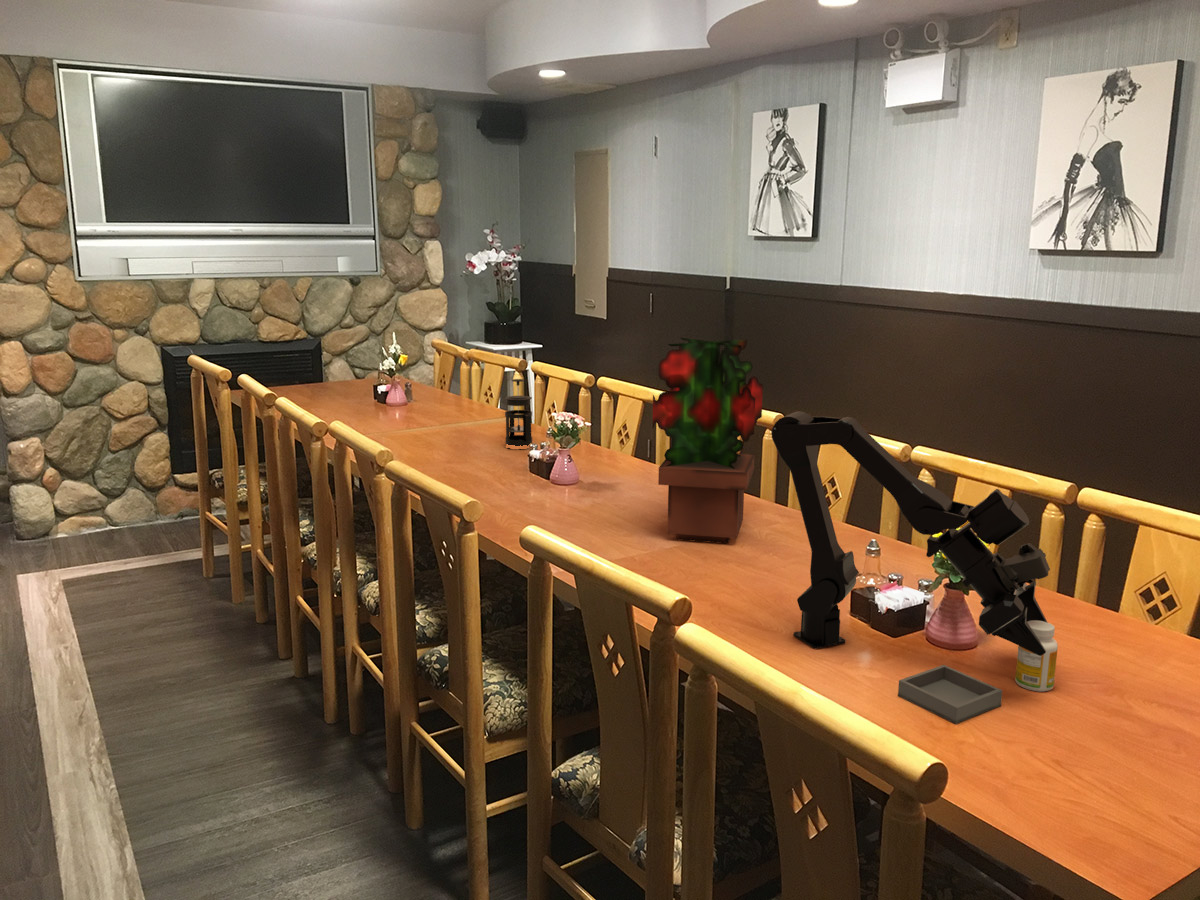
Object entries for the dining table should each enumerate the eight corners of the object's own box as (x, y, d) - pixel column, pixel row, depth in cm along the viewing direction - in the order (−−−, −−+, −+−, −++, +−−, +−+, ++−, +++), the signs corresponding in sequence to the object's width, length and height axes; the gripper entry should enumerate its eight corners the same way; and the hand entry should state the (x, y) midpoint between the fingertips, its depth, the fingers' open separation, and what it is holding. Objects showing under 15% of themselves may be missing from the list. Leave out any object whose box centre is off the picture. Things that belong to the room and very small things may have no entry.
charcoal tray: (897, 695, 140) (899, 680, 140) (942, 679, 146) (943, 664, 145) (955, 724, 132) (957, 707, 131) (1000, 706, 137) (1002, 690, 137)
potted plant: (650, 544, 212) (653, 345, 203) (667, 518, 233) (670, 336, 224) (749, 552, 207) (757, 347, 198) (757, 524, 228) (764, 338, 219)
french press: (498, 446, 318) (497, 378, 314) (522, 443, 324) (521, 376, 319) (517, 452, 309) (515, 382, 304) (541, 448, 315) (540, 380, 310)
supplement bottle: (1042, 676, 147) (1048, 617, 145) (1060, 692, 142) (1067, 631, 140) (1008, 677, 147) (1014, 618, 145) (1024, 692, 142) (1031, 632, 139)
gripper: (1010, 548, 133) (1089, 636, 130) (1025, 516, 149) (1095, 594, 146) (947, 591, 139) (1022, 676, 136) (968, 556, 155) (1035, 632, 152)
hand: (1046, 643), depth 142 cm, fingers open, 9 cm apart
